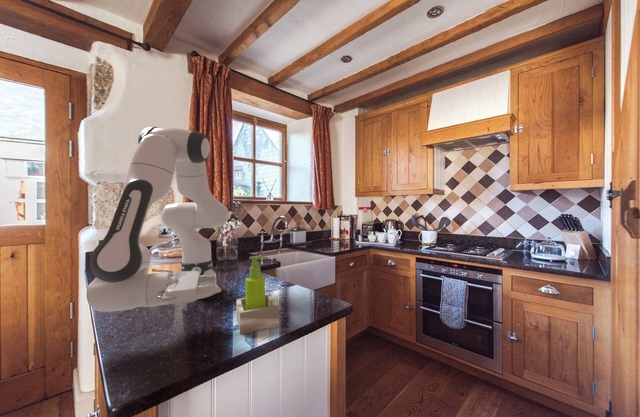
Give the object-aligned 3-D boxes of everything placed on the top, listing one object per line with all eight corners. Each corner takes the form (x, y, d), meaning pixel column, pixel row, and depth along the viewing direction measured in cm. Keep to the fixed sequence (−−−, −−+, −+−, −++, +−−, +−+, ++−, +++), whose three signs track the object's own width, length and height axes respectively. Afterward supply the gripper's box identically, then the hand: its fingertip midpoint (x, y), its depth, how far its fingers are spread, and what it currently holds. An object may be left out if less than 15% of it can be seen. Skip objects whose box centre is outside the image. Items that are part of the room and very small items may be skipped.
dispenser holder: (236, 317, 86) (236, 299, 86) (270, 311, 91) (270, 294, 91) (240, 334, 75) (240, 312, 75) (279, 326, 79) (278, 306, 79)
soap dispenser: (263, 324, 78) (262, 258, 78) (242, 322, 80) (241, 257, 80) (271, 316, 84) (270, 254, 84) (251, 315, 85) (250, 254, 85)
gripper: (154, 288, 63) (215, 281, 69) (168, 269, 82) (215, 265, 87) (155, 313, 63) (216, 305, 69) (168, 289, 82) (215, 283, 88)
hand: (215, 282), depth 78 cm, fingers open, 8 cm apart
